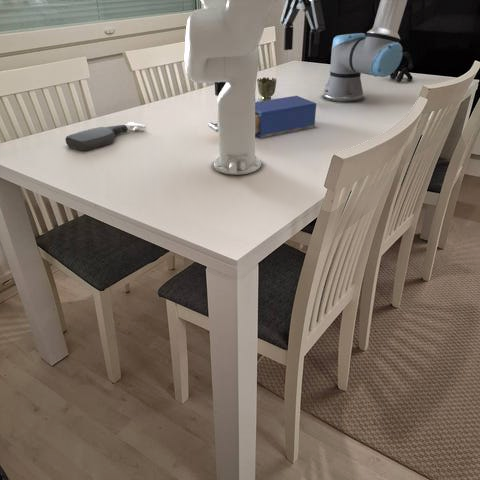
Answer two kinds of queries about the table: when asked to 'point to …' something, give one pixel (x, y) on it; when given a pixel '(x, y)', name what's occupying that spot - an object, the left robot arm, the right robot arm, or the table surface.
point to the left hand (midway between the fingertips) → (221, 95)
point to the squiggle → (403, 68)
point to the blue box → (285, 115)
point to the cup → (266, 87)
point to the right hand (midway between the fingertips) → (300, 52)
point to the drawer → (257, 124)
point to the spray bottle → (99, 136)
